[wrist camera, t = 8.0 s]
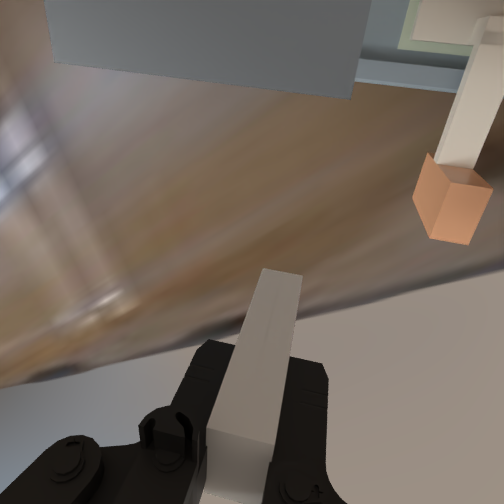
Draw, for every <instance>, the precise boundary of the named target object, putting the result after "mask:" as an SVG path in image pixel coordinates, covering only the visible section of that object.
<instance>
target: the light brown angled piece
mask: <svg viewBox="0 0 504 504" xmlns="http://www.w3.org/2000/svg"><path fill="white" fill-rule="evenodd" d="M409 40H414V41H424V42H435V43H445V44H455V45H466V46H473V49H472V52H471V54H470V57H469V60H468V63H467V66H466V69H465V71H464V74H463V77H462V80H461V83H460V86H459V88H458V91H457V94H456V97H455V100H454V103H453V105H452V108H451V111H450V114H449V117H448V120H447V122H446V125H445V128H444V131H443V134H442V137H441V139H440V142H439V145H438V148H437V151H436V153H429V152H428V153H427V156H426V159H425V162H424V164H423V167H422V170H421V173H420V176H419V179H418V182H417V185H416V188H415V191H414V194H413V197H412V199H413V201H414V203H415V206H416V208H417V210H418V213H419V215H420V217H421V220H422V222H423V224H424V227H425V229H426V231H427V234H428V236H429V238H431V239H437V240H442V241H448V242H453V243H459V244H465V245H468V244H469V242H470V240H471V238H472V236H473V233H474V231H475V229H476V227H477V225H478V222H479V220H480V218H481V216H482V214H483V212H484V209H485V207H486V205H487V203H488V201H489V198H490V196H491V194H492V192H493V190H494V189H493V188H492V187H491V186H490V185H489V184H488V183H487V182H486V181H485V180H484V179H483V178H482V177H481V176H480V175H478V174H477V173H476V172H475V171H474V170H473V168H474V166H475V164H476V161H477V159H478V156H479V154H480V152H481V149H482V147H483V144H484V142H485V139H486V137H487V135H488V132H489V130H490V127H491V125H492V123H493V120H494V118H495V115H496V113H497V111H498V108H499V106H500V103H501V101H502V99H503V96H504V0H420V2H419V6H418V9H417V13H416V17H415V20H414V24H413V28H412V32H411V35H410V39H409Z"/></svg>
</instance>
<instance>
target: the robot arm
mask: <svg viewBox="0 0 504 504" xmlns="http://www.w3.org/2000/svg"><path fill="white" fill-rule="evenodd" d="M302 279H303V276H302V275H296V274H291V273H286V272H281V271H275V270H270V269H265V268H263V270H262V272H261V275H260V278H259V281H258V284H257V286H256V289H255V292H254V295H253V298H252V300H251V303H250V306H249V309H248V312H247V315H246V317H245V320H244V323H243V326H242V329H241V331H240V334H239V337H238V340H237V343H236V345H232V344H228V343H223V342H219V341H215V340H210V339H209V340H207V341H206V342H205V343H204V344H203V345H202V346H201V347H199V348H198V349H197V350H196V353H195V355H194V357H193V359H192V361H191V363H190V366H189V367H188V369H187V371H186V373H185V377H184V378H183V380H182V382H181V384H180V386H179V388H178V390H177V392H176V394H175V396H174V398H173V400H172V403H171V405H170V406H165V407H161V408H157V409H155V410H154V411H152V412H151V413H149V414H148V415H146V416H145V417H144V419H143V420H142V421H141V423H140V424H139V425H138V427H139V435H140V442H137V443H135V444H129V445H122V446H109V447H99V445H98V444H97V443H96V442H95V441H94V439H93V438H90V437H87V436H84V435H76V436H69V437H66V438H64V439H61V440H59V441H57V442H56V443H54V444H53V445H52V446H50V447H49V448H48V449H46V450H45V451H44V452H43V453H42V454H41V455H40V456H39V457H38V458H37V459H36V460H35V461H34V462H33V463H32V464H31V465H30V466H29V467H28V468H27V469H26V470H25V471H23V473H21V474H20V475H19V476H18V477H17V478H16V479H15V480H14V481H13V482H12V483H11V484H10V485H9V486H8V487H7V488H6V489H5V490H4V491H3V492H2V493H1V494H0V504H199V501H200V498H201V495H202V492H203V489H204V492H205V493H208V494H212V495H215V496H219V497H222V498H225V499H229V500H233V501H236V502H239V503H243V504H347V503H346V502H344V501H343V500H342V499H341V498H340V497H339V495H338V494H337V493H336V492H335V490H334V489H333V487H332V485H331V483H330V481H329V479H328V475H327V472H326V463H325V462H326V435H327V408H328V380H329V379H328V377H327V374H326V372H325V369H324V367H323V365H322V363H317V362H313V361H308V360H304V359H299V358H295V357H290V351H291V345H292V339H293V333H294V327H295V321H296V315H297V309H298V303H299V297H300V291H301V285H302Z"/></svg>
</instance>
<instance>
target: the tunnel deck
mask: <svg viewBox="0 0 504 504" xmlns="http://www.w3.org/2000/svg"><path fill="white" fill-rule="evenodd" d="M419 2H420V0H44V4H45V10H46V16H47V22H48V28H49V34H50V40H51V46H52V51H53V57H54V63H62V64H70V65H78V66H86V67H94V68H102V69H110V70H118V71H126V72H134V73H142V74H150V75H158V76H166V77H174V78H182V79H190V80H197V81H205V82H213V83H221V84H229V85H237V86H245V87H253V88H261V89H269V90H277V91H285V92H293V93H301V94H309V95H317V96H325V97H333V98H341V99H349V100H351V95H352V91H353V86H354V81H357V82H365V83H374V84H382V85H391V86H399V87H408V88H416V89H425V90H433V91H442V92H450V93H457V91H458V88H459V86H460V83H461V80H462V77H463V74H464V71H465V69H466V66H467V63H468V60H469V57H470V54H471V52H472V49H473V46H466V45H455V44H445V43H435V42H424V41H414V40H409V39H410V35H411V32H412V28H413V24H414V20H415V17H416V13H417V9H418V6H419ZM503 99H504V96H503Z"/></svg>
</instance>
